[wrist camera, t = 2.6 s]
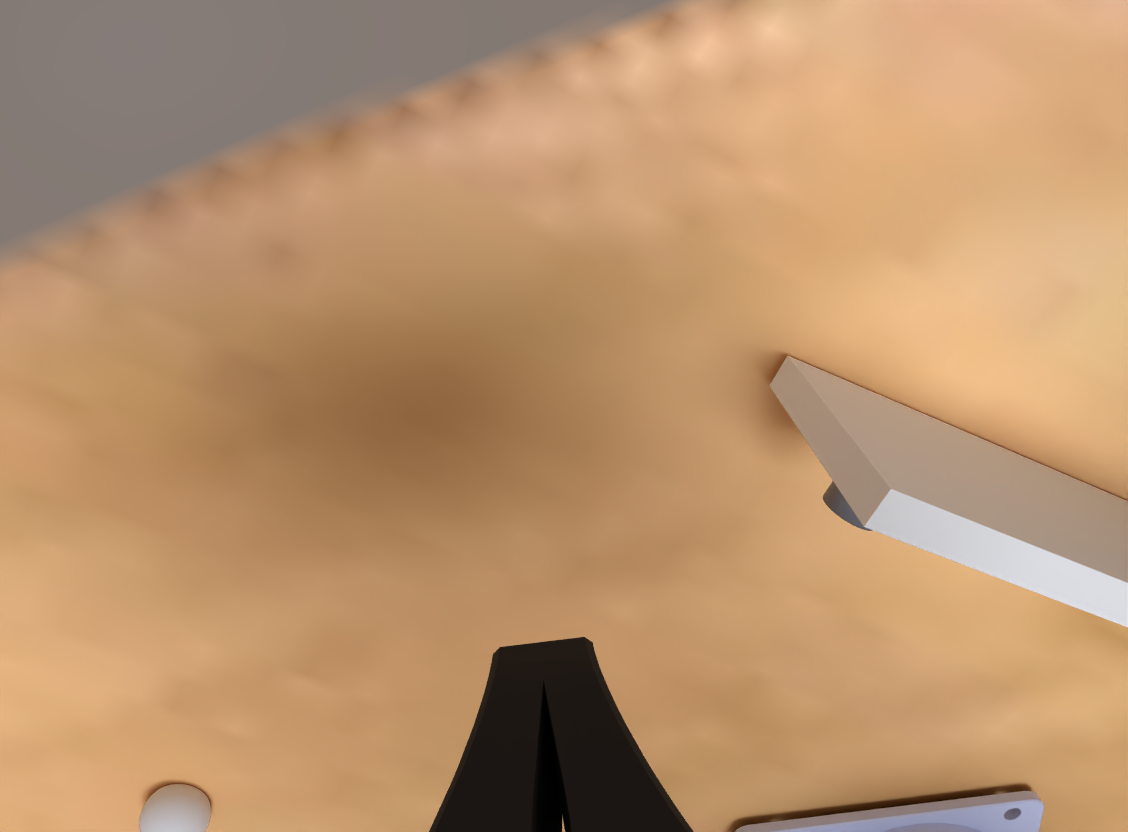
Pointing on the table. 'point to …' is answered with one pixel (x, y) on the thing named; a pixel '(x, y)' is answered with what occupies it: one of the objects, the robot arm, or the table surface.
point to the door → (960, 494)
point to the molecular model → (176, 810)
